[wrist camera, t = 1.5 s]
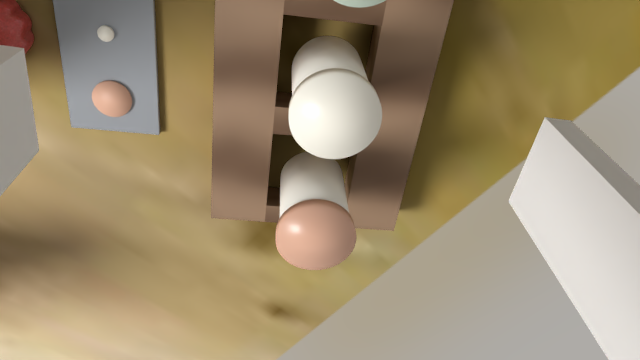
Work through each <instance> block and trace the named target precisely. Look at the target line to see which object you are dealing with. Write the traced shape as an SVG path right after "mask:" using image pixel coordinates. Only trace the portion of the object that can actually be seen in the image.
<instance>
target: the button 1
mask: <svg viewBox="0 0 640 360" xmlns="http://www.w3.org/2000/svg"><path fill="white" fill-rule="evenodd" d="M355 243H356V231H355V226H354V221H353V219H352V217H351V215H350V214H349V210H348V204H347V198H346V192H345V186H344V180H343V174H342V170H341V167H340V166H339V164H338V163H337V161H336V160H335V159H326V158H321V157H317V156H315V155H312V154H310V153H309V152H303V153H300V154H297V155H295V156H294V157H292V158H291V159H290V160H288V161H287V163H286V164H285V165H284V167H283V169H282V171H281V177H280V218H279V220H278V223H277V226H276V246H277V249H278V251H279V253H280V254H281V256H282V257H283V258H284V259H285V260H286V261H287V262H289V263H290V264H292V265H294V266H296V267H299V268H302V269H308V270H321V269H327V268H330V267H333V266H335V265H337V264H339V263H341V262H342V261H344V260H345V259H346V258H347V257H348V256H349V255H350V254H351V252H352V251H353V249H354V247H355Z"/></svg>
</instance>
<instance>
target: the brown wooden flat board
mask: <svg viewBox="0 0 640 360" xmlns="http://www.w3.org/2000/svg"><path fill="white" fill-rule="evenodd" d="M453 2H454V0H386V1H384V2H382V3H380V4H377V5H374V6H370V7H362V8H358V7H349V6H345V5H342V4H339V3H337V2H335V1H334V0H215V34H214V88H213V143H212V197H211V218H219V219H234V220H248V221H262V222H277V223H278V220H279V218H280V188H275V187H268V180H269V169H270V158H271V147H272V136H273V134H281V135H292V133H291V131H290V127H289V103H290V100H291V97H292V93H284V92H276V91H277V79H278V68H279V57H280V46H281V34H282V23H283V14H284V15H292V16H301V17H310V18H318V19H327V20H335V21H344V22H353V23H361V24H370V25H374V28H373V33H372V39H371V44H370V50H369V55H368V61H367V66H366V71H365V73H366V76H367V79H368V81H369V82H370V83H371V85H372V86H373V87H374V89H375V91H376V93H377V95H378V98H379V101H380V104H381V108H382V122H381V126H380V129H379V131H378V134H377V135H376V137H375V138H374V140H373V141H372V142H371V143H370V144H369V145H368V146H367V147H366V148H365V149H363V150H362V151H360V152H359V153H357V154H355V155H352V156H350V158H349V163H348V169H347V174H346V180H345V185H344V186H345V192H346V198H347V204H348V210H349V214H350V215H351V217H352V219H353V221H354V226H355V228H362V229H377V230H391V231H394V228H395V224H396V220H397V216H398V212H399V209H400V205H401V201H402V197H403V193H404V189H405V186H406V182H407V178H408V174H409V170H410V166H411V163H412V159H413V155H414V151H415V147H416V144H417V140H418V136H419V132H420V128H421V124H422V121H423V117H424V113H425V109H426V105H427V101H428V98H429V94H430V90H431V86H432V82H433V78H434V75H435V71H436V67H437V63H438V59H439V56H440V52H441V48H442V44H443V40H444V36H445V33H446V29H447V25H448V21H449V17H450V13H451V10H452V6H453ZM292 136H293V135H292Z"/></svg>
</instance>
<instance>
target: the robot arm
mask: <svg viewBox="0 0 640 360" xmlns="http://www.w3.org/2000/svg"><path fill="white" fill-rule="evenodd" d="M38 151H39V146H38V139H37V132H36V126H35V119H34V112H33V106H32V99H31V92H30V85H29V79H28V72H27V65H26V59H25V52H24V48H19V47H12V46H4V45H0V196H1V195H2V193H3V192H4V191H5V190H6V189H7V188H8V186H9V185H10V184H11V183H12V182H13V181H14V179H15V178H16V177H17V176H18V175H19V173H20V172H21V171H22V170H23V169H24V168H25V166H26V165H27V164H28V163H29V162H30V160H31V159H32V158H33V157H34V156H35V155H36V153H37V152H38ZM509 203H510V205H511V206H512V208H513V209H514V211H515V213H516V214H517V216H518V217H519V219H520V220H521V222H522V224H523V225H524V227H525V228H526V230H527V232H528V233H529V235H530V236H531V238H532V240H533V241H534V243H535V244H536V246H537V247H538V249H539V251H540V252H541V254H542V255H543V257H544V258H545V260H546V262H547V263H548V265H549V266H550V268H551V269H552V271H553V273H554V274H555V276H556V277H557V279H558V281H559V282H560V284H561V285H562V287H563V289H564V290H565V292H566V293H567V295H568V296H569V298H570V300H571V301H572V303H573V304H574V306H575V307H576V309H577V311H578V312H579V314H580V315H581V317H582V318H583V320H584V322H585V323H586V325H587V326H588V328H589V329H590V331H591V333H592V334H593V336H594V337H595V339H596V341H597V342H598V344H599V345H600V347H601V349H602V350H603V351H604V353H605V355H606V356H607V358H608V360H640V185H639V184H638V183H637V182H635V180H634V179H633V178H631V177H630V176H629V175H628V174H627V173H626V172H625V171H624V170H623V169H622V168H621V167H620V166H619V165H617V163H615V162H614V161H613V160H612V159H611V158H610V157H609V156H608V155H607V154H606V153H605V152H604V151H603V150H602V149H601V148H600V147H598V146H597V145H596V144H595V143H594V142H593V141H592V140H591V139H590V138H589V137H588V136H587V135H586V134H584V132H583V131H581V130H580V129H579V128H578V127H577V126H576V125H575V124H574V123H573V122H572V121H569V120H561V119H554V118H546V117H545V118H544V120H543V123H542V125H541V127H540V130H539V132H538V134H537V136H536V139H535V141H534V143H533V146H532V148H531V150H530V153H529V155H528V157H527V160H526V162H525V165H524V167H523V169H522V171H521V173H520V176H519V178H518V181H517V183H516V185H515V187H514V190H513V192H512V194H511V197H510V199H509Z"/></svg>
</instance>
